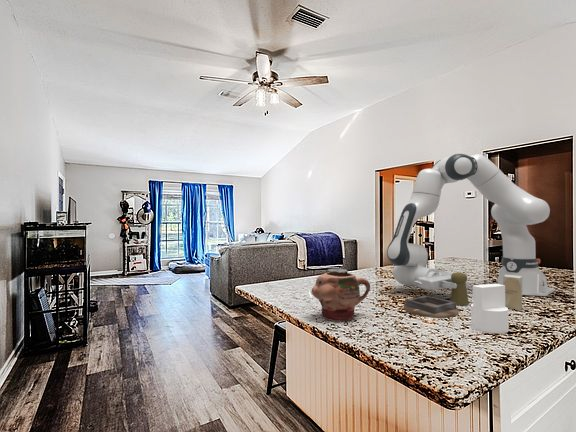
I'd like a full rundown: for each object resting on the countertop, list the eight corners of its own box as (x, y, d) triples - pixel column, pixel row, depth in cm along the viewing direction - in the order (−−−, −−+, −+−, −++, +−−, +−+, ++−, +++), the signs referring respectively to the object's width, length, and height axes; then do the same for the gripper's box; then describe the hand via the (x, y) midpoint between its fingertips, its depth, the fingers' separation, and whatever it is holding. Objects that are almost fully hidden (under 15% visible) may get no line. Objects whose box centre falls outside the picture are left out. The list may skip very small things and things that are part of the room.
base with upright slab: (491, 335, 86) (490, 290, 86) (463, 324, 94) (463, 283, 94) (516, 331, 88) (516, 287, 88) (487, 321, 97) (487, 281, 97)
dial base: (425, 301, 121) (425, 293, 121) (469, 312, 106) (469, 303, 106) (393, 307, 112) (393, 299, 112) (436, 321, 98) (436, 311, 98)
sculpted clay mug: (358, 308, 112) (358, 268, 112) (379, 318, 101) (379, 274, 101) (305, 314, 106) (305, 272, 106) (322, 326, 94) (321, 278, 94)
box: (502, 308, 111) (502, 275, 111) (504, 305, 114) (504, 274, 114) (521, 310, 107) (520, 277, 107) (523, 308, 110) (522, 275, 110)
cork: (471, 305, 113) (471, 274, 113) (453, 304, 115) (452, 274, 115) (465, 301, 119) (465, 271, 119) (448, 300, 120) (447, 271, 121)
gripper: (410, 273, 123) (443, 279, 111) (444, 268, 133) (477, 273, 121) (410, 290, 123) (443, 297, 111) (444, 283, 133) (477, 290, 121)
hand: (461, 285), depth 116 cm, fingers open, 4 cm apart
